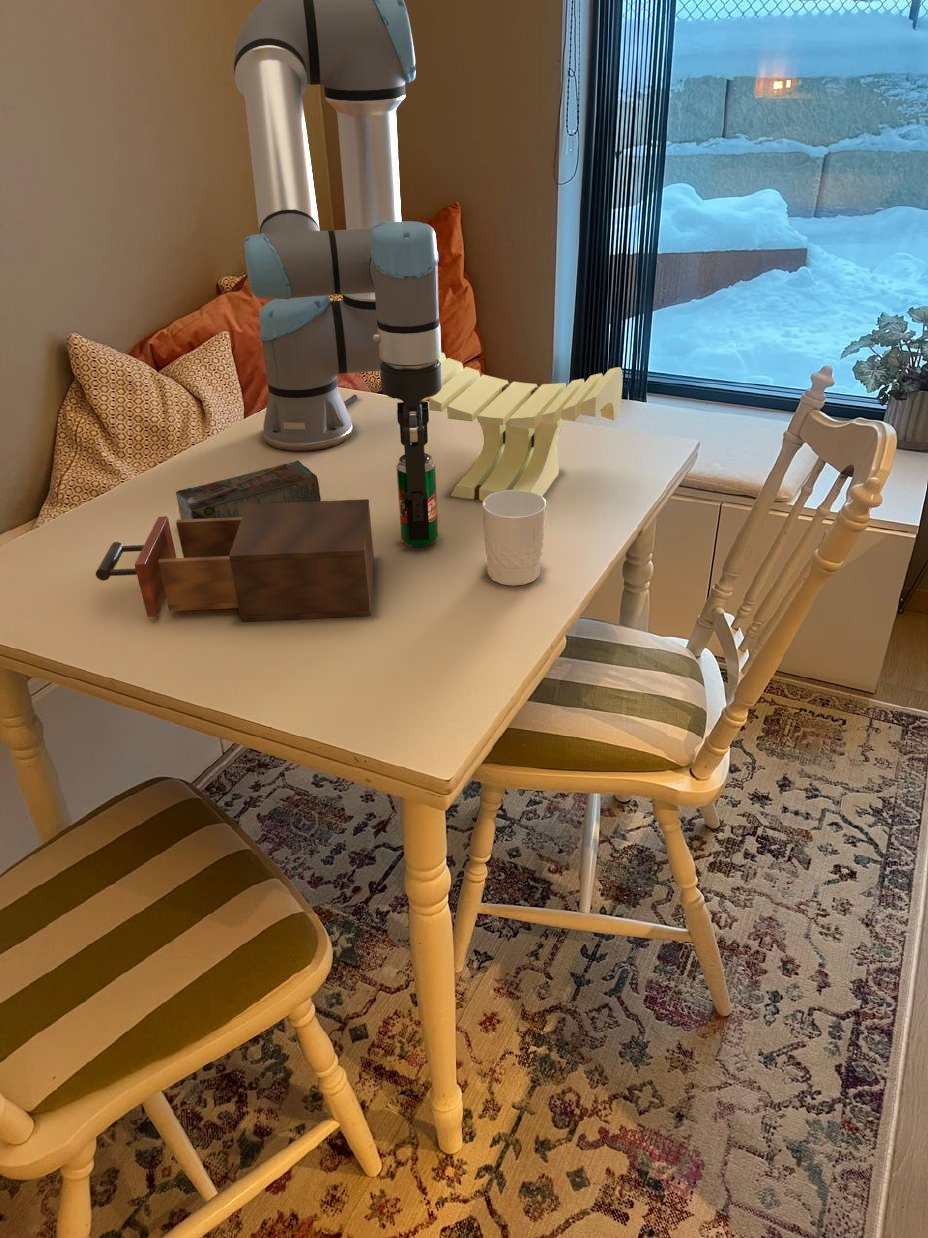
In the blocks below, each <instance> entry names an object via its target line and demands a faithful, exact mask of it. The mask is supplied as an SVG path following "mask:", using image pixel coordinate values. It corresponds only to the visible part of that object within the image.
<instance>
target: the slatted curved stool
mask: <svg viewBox="0 0 928 1238" xmlns="http://www.w3.org/2000/svg"><path fill="white" fill-rule="evenodd" d="M438 360H439V361H440V362H441V377H442V388H441V390H440V391H439V392H438V393H437V394H436V395H434V396H432V397H427V398H424V399H422V402H425V401H428V411H434V412H443V411H444V410H447V411H446V413H447V414H446V415H447V419H448V420H455V421H464V422H473V421H474V420H475V419H477V422H478V423H479V425H480V427H481V430H482V435H483V446H482V450H481V452H480V454H479V456H478V458H477V459H476V461H475V463H474V464H473V465H472V467H470V469H469V470H468V472H466V474H465V475H464V476H463V477H462V478H461V480H460V481H459V482H457V484H456V485H455V487H454V489H453V491H452V493H451V495H450V497H454V498H460V499H467V500H474V499H476V498H477V499H478V500H479V501H481V502H483V500H484V499H485V498H486V497H487V496H489V495H490V494H493V493H495V492H499V491H504V490H525V491H530V492H533V493H536V494H538V495H540V496H542V497H543V496H544V495H545V494H546V492H547V491H548V489H549V488H550V487H551V485H552V484H553V482H554V481H555V480H556V479H557V478H558V476H559V472H560V468H559V466H560V465H559V458H558V455H559V454H558V443H559V436H560V432H561V429H562V427H563V424H564V421H571V422H575V421H576V420H577V419H578V418H579V417H580V415H581V416H586V417H596V416H597V415H598V414H599V413H600V416H601V417H603V418H606V419H609V420H611V421H614V420H616V418H617V417H618V415H619V413H620V412H621V411H622V397H623V384H624V383H623V382H624V381H623V379H624V377H623V370H622V367H617V366H616V367H612V368H609V369H607V371H606V372H605V374H604V375H603V373H602V372H599V373H596V374H592V375H590V376H589V377H588V378H587V380H585V379H584V378H579V379H573V380H571V381H570V383H569V384H568V385H567V384H566V382H559V383H558V382H557V383H542V384H541V385H540V386H538V384H537V383H529V382H520V381H512V382H511V383H509V381H508V379H503V378H499V377H495V376H491V375H487V374H482V375H481V374H480V370H478V369H474V368H471V367H468V366H465V367H464V365H463V362H461V361H459V360H456V359H453V358H450V357H446V354H445V352H442V351H441V356H440V358H439V359H438Z"/></svg>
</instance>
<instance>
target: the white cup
mask: <svg viewBox="0 0 928 1238" xmlns="http://www.w3.org/2000/svg"><path fill="white" fill-rule="evenodd" d="M481 505H482V521H483V535H484V548H485V555H486V562H487V563H486V565H487V567H486V568H487V575H488V577H489V578H490V579H491V580H492V581H493V582H496V583H498V584H500V585H504V586H512V587H513V586H524V585H527V584H530V583H533V582H534V581H536V579H538V578H539V576H540V571H541V561H542V555H543V547H544V538H545V527H546V524H545V523H546V511H547V500H546V499H545V498H544V497H543V496H540V495H538V494H536V493H533V492H530V491H525V490H504V491H499V492H495V493H493V494H490V495H489V496H487V497H486V498H485V499H484V500H483V501H482V503H481Z"/></svg>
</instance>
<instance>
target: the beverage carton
mask: <svg viewBox="0 0 928 1238" xmlns="http://www.w3.org/2000/svg"><path fill="white" fill-rule="evenodd" d="M175 496H176V501H177V506H178V512H179V517H180V520H183V519H206V518H230V517H242V516H243V513H244V510H245V507H246V505H247V504H269V503H293V502H316V501H322V497H321V491H320V485H319V478H318V476H317V474H315V473H314V472H312V470H310V469H309V468H308V467H307V466H305V465H304V464H303V463H302V462H300V460H295V461H292V462H287V463H282V464H279V465H276V466H272V467H267V468H264V469H260V470H257V471H252V472H249V473H245V474H244V473H243V474H241V475H238V476H233V477H230V478H225V479H221V480H216V481H214V482H210V483H206V484H201V485H198V486H193V487H187V488H184V489H179V490H177V491H175Z"/></svg>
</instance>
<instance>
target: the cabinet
mask: <svg viewBox="0 0 928 1238" xmlns="http://www.w3.org/2000/svg"><path fill="white" fill-rule="evenodd" d="M370 510H371V509H370V499H368V498H366V499H363V498H362V499H346V500H345V499H344V500H343V499H341V500H321V501H316V502H293V503H269V504H247V505H246V507H245V510H244V513H243V516H242V519H241V522H240V525H239V528H238V531H237V534H236V537H235V540H234V543H233V546H232V549H231V552H230V555H229V558H230V564H231V569H232V575H233V580H234V586H235V591H236V597H237V602H238V608H237V609H238V612H239V616H240V617H239V618H240V622H242V623H244V622H245V623H247V622H265V621H266V622H268V621H289V620H306V619H307V620H313V619H330V618H331V619H333V618H355V617H371V615H372V602H373V601H372V599H373V584H374V569H375V567H374V566H375V555H374V554H375V553H374V545H373V544H374V543H373V533H372V522H371V521H372V520H371V519H372V518H371V511H370Z"/></svg>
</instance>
